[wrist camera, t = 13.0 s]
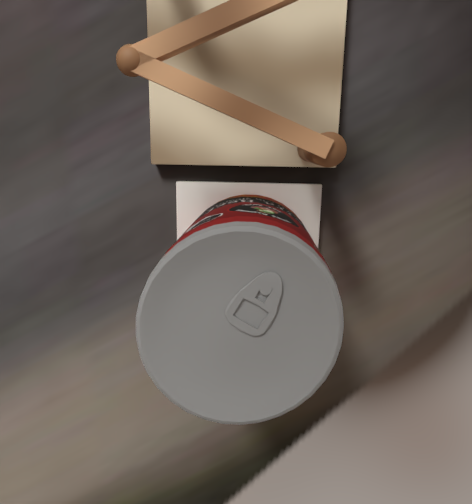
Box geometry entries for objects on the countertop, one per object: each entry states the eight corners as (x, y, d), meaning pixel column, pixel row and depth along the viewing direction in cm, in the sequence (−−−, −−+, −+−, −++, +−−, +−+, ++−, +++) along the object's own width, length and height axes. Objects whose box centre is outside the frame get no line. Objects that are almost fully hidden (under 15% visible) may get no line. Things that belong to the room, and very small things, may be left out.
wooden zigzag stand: (149, -67, 23) (89, -181, 15) (348, -68, 23) (398, -187, 15) (155, 163, 26) (107, 170, 18) (332, 166, 26) (366, 176, 17)
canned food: (327, 211, 26) (376, 256, 15) (288, 333, 28) (307, 450, 17) (201, 176, 26) (159, 197, 15) (170, 301, 27) (114, 399, 17)
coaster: (178, 180, 26) (176, 181, 26) (320, 183, 26) (322, 184, 25) (180, 320, 28) (178, 324, 28) (312, 325, 28) (313, 329, 27)
